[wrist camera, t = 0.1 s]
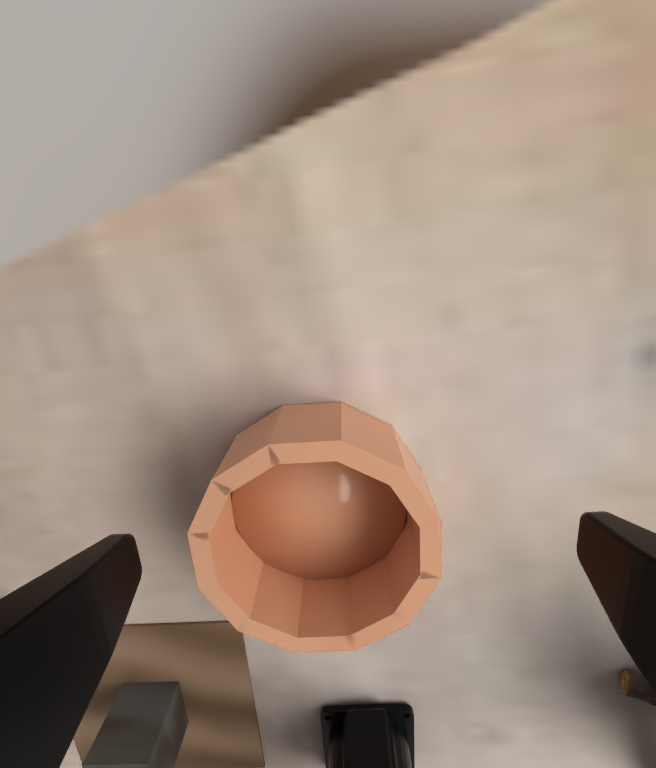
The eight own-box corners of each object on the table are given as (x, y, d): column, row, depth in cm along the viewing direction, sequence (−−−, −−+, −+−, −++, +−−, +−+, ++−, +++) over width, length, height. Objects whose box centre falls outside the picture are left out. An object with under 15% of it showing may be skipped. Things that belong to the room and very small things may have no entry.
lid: (266, 755, 33) (251, 858, 27) (91, 759, 33) (41, 860, 28) (242, 612, 28) (219, 699, 23) (43, 619, 29) (-27, 705, 24)
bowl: (422, 576, 26) (440, 647, 22) (234, 584, 27) (211, 655, 22) (420, 396, 23) (442, 434, 18) (204, 409, 23) (170, 449, 19)
